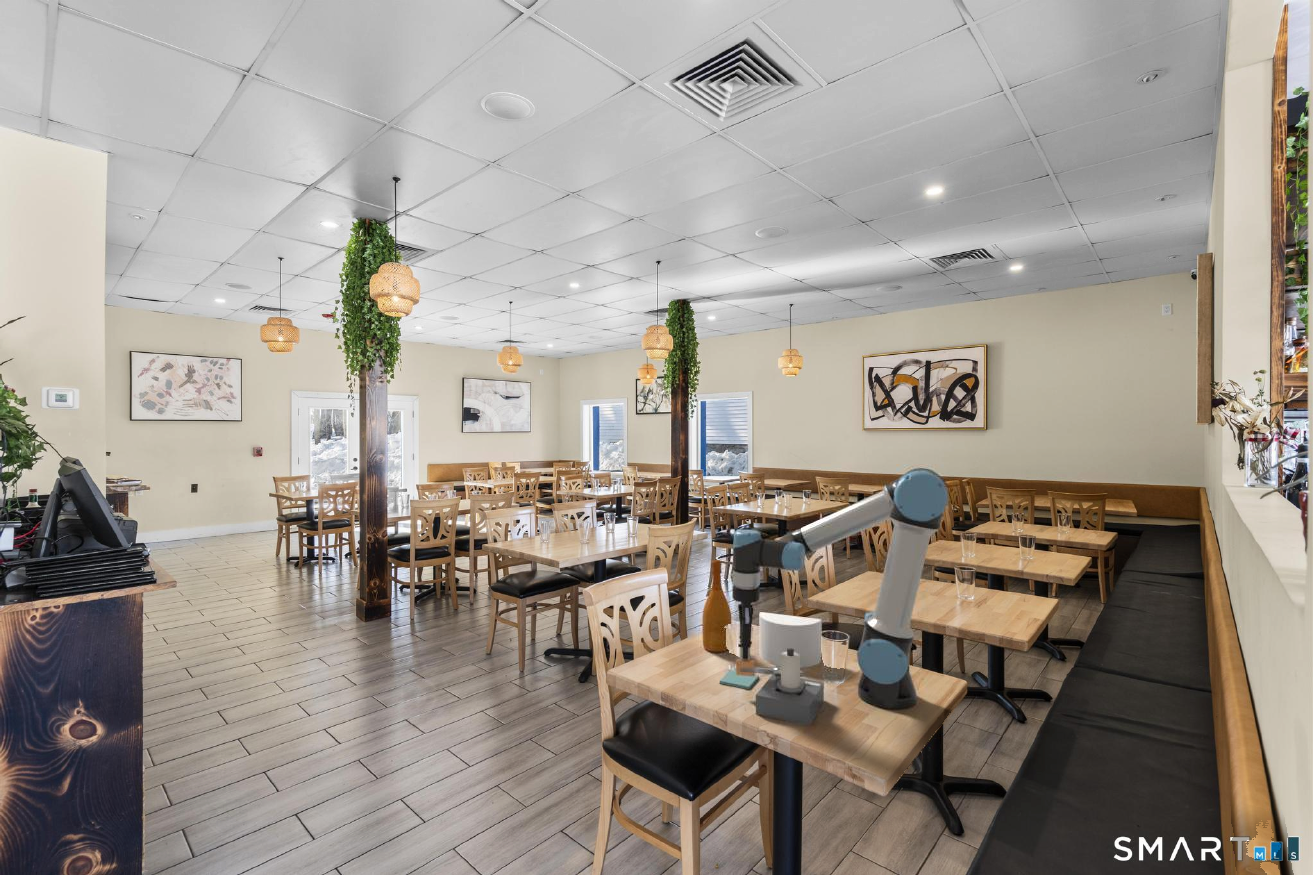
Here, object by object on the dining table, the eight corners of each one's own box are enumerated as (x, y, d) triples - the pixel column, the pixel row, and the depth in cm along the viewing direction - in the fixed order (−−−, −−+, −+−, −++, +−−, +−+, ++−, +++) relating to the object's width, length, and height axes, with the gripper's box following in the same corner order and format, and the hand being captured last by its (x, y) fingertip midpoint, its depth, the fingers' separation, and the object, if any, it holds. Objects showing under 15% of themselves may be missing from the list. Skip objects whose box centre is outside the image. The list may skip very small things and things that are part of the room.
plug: (806, 704, 164) (806, 647, 163) (800, 715, 157) (800, 655, 157) (781, 699, 167) (781, 643, 167) (774, 709, 161) (773, 651, 161)
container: (826, 650, 204) (826, 610, 204) (816, 672, 186) (816, 628, 186) (767, 642, 212) (767, 604, 212) (752, 662, 194) (752, 620, 194)
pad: (758, 677, 181) (758, 675, 181) (749, 689, 173) (749, 686, 173) (730, 672, 185) (730, 669, 185) (719, 683, 177) (719, 680, 177)
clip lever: (736, 676, 169) (735, 661, 169) (737, 672, 172) (737, 657, 172) (802, 681, 165) (802, 667, 165) (802, 677, 168) (802, 663, 168)
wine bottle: (726, 642, 212) (726, 556, 212) (735, 652, 202) (734, 562, 202) (699, 644, 210) (699, 557, 210) (706, 654, 201) (706, 563, 200)
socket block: (823, 700, 166) (823, 677, 166) (809, 725, 152) (809, 700, 152) (773, 690, 173) (773, 668, 172) (755, 713, 158) (755, 689, 158)
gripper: (731, 579, 177) (730, 658, 178) (733, 591, 164) (732, 677, 165) (757, 579, 176) (755, 659, 177) (761, 592, 164) (760, 678, 165)
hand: (744, 668), depth 171 cm, fingers closed
